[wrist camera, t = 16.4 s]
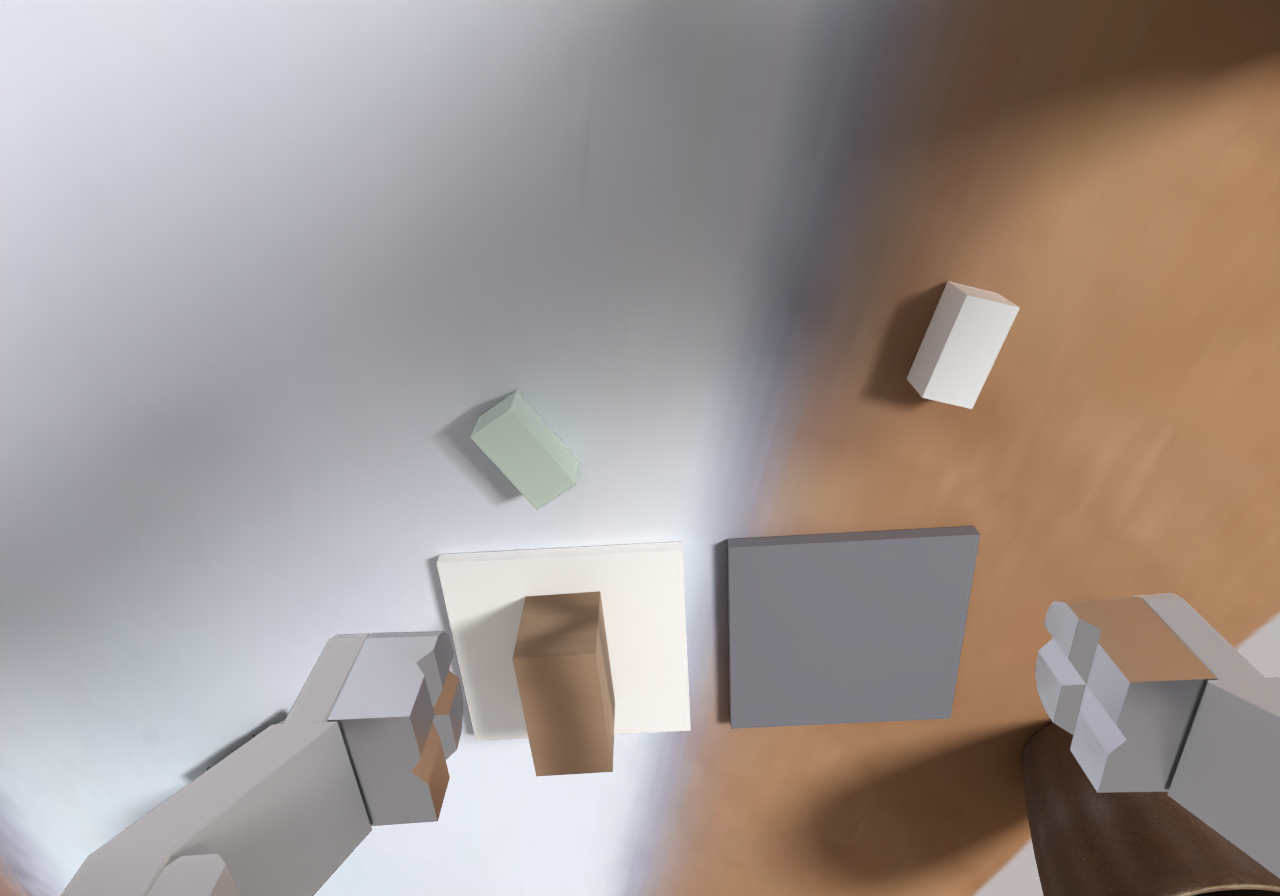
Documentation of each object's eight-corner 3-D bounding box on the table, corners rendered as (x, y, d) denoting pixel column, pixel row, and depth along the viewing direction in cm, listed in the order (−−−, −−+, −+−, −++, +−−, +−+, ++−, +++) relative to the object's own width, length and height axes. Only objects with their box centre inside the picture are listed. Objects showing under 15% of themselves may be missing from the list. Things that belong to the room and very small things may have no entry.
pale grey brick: (946, 280, 43) (967, 294, 40) (996, 292, 43) (1019, 307, 41) (905, 377, 46) (922, 397, 43) (952, 388, 46) (972, 409, 43)
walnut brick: (600, 591, 51) (595, 653, 46) (615, 703, 55) (612, 771, 50) (525, 596, 51) (512, 659, 46) (546, 707, 56) (536, 776, 50)
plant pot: (963, 822, 63) (1059, 1046, 48) (977, 686, 56) (1093, 899, 42) (1151, 807, 62) (1305, 1030, 48) (1187, 667, 55) (1378, 877, 41)
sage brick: (479, 415, 47) (469, 437, 44) (517, 388, 46) (510, 409, 43) (542, 485, 49) (536, 509, 46) (579, 460, 48) (576, 484, 45)
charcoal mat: (973, 526, 50) (980, 534, 49) (945, 708, 57) (950, 718, 56) (727, 539, 50) (728, 547, 49) (729, 718, 57) (731, 728, 57)
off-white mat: (681, 541, 50) (682, 550, 50) (689, 720, 58) (690, 730, 57) (439, 554, 51) (436, 563, 50) (477, 730, 58) (475, 740, 57)
